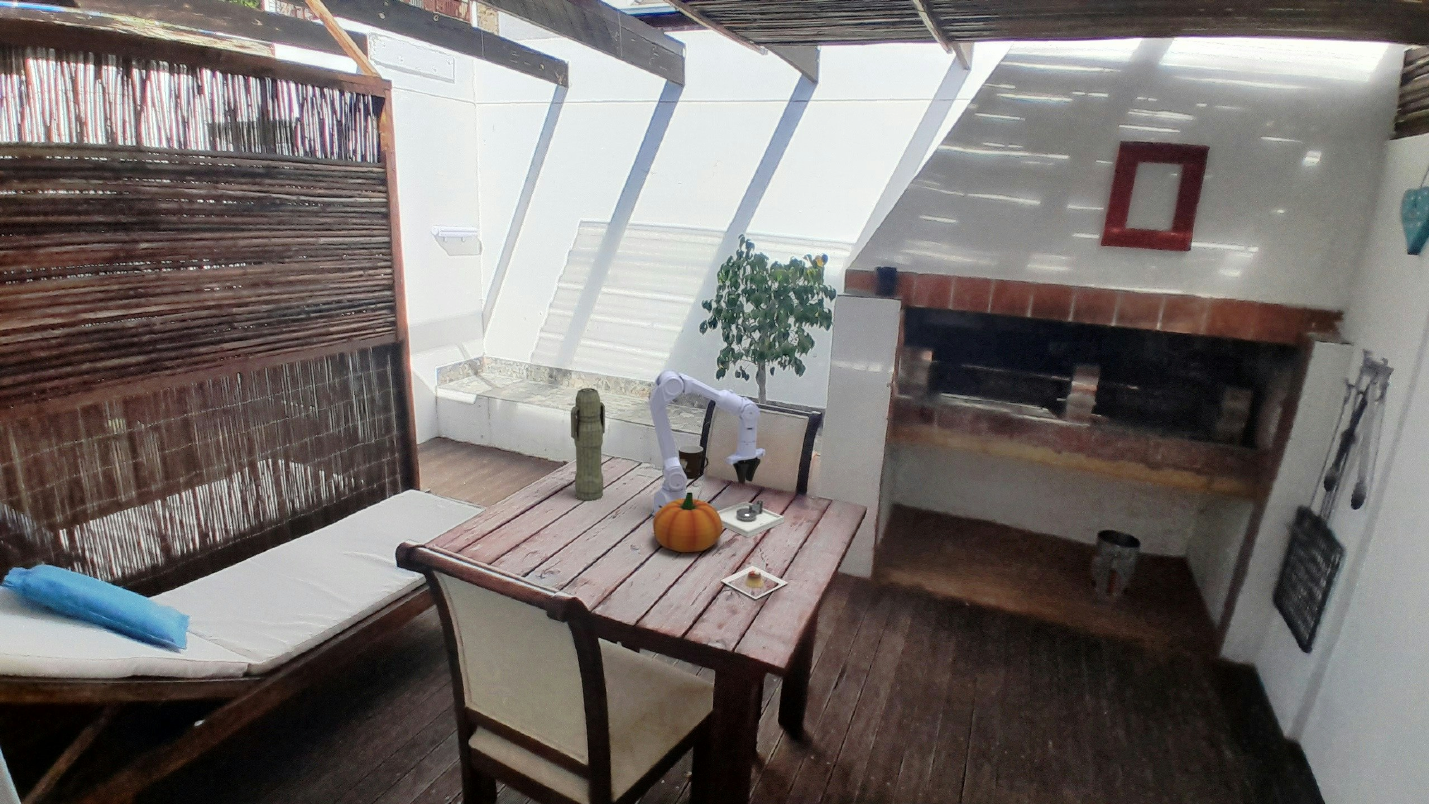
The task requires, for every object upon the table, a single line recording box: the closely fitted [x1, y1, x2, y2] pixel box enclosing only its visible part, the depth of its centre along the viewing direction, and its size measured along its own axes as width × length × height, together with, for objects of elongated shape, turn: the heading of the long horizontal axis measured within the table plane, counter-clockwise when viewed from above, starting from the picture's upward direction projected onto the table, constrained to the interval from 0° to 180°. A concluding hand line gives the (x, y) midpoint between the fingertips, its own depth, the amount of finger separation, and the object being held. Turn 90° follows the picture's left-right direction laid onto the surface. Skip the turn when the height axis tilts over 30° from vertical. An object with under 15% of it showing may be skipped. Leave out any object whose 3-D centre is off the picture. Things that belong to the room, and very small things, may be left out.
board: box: [716, 501, 785, 538], centre depth 215 cm, size 16×16×2 cm
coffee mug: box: [677, 444, 709, 480], centre depth 248 cm, size 12×9×10 cm
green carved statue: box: [570, 387, 606, 502], centre depth 226 cm, size 9×12×35 cm
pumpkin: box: [652, 492, 724, 553], centre depth 198 cm, size 19×19×15 cm
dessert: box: [720, 565, 789, 600], centre depth 178 cm, size 12×12×5 cm
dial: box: [736, 500, 764, 521], centre depth 215 cm, size 10×6×3 cm, turn 135°
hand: (745, 481), depth 220 cm, fingers open, 3 cm apart
